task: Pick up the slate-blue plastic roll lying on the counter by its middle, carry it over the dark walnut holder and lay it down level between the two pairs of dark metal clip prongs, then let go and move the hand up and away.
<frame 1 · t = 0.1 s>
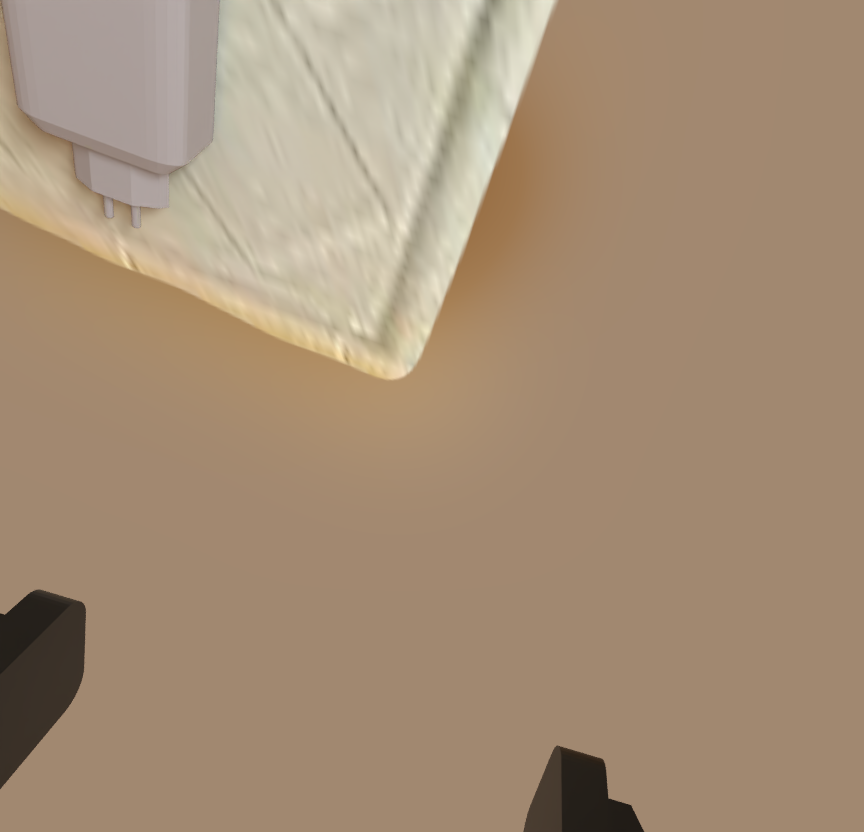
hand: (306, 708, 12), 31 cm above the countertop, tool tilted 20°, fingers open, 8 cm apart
charger: (142, 82, 39), on the countertop
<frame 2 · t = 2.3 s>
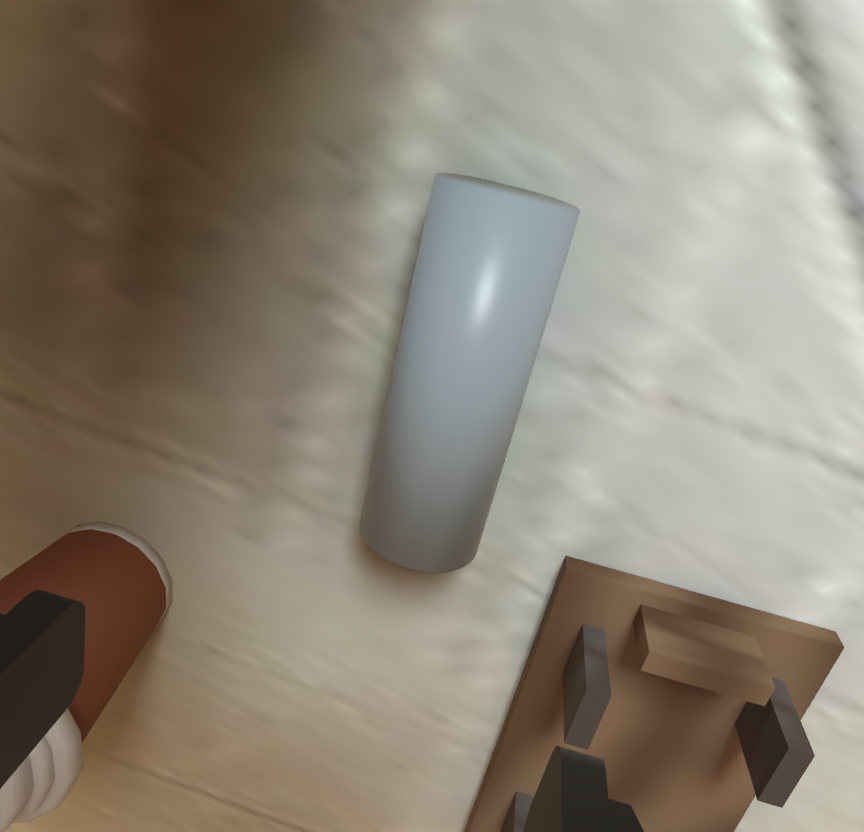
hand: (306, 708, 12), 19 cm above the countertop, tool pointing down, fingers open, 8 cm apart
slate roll: (452, 357, 29), on the countertop, tilted 13°
walnut holder: (627, 745, 35), on the countertop
coffee cup: (115, 575, 36), on the countertop
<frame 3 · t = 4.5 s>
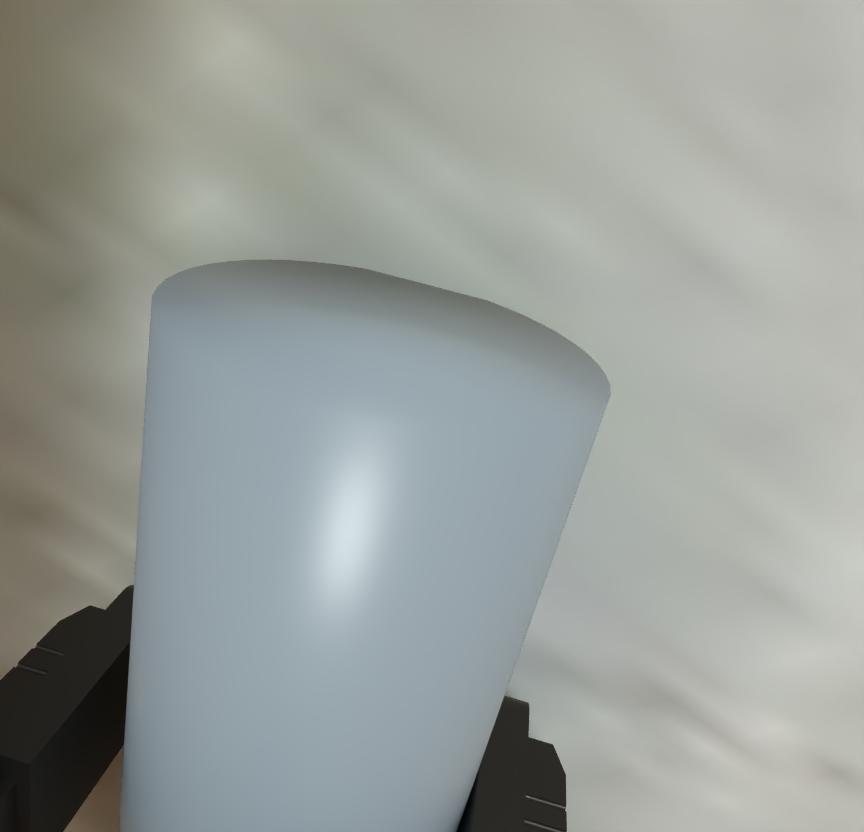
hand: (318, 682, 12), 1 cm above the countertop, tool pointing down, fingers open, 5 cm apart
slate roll: (326, 646, 13), on the countertop, tilted 8°
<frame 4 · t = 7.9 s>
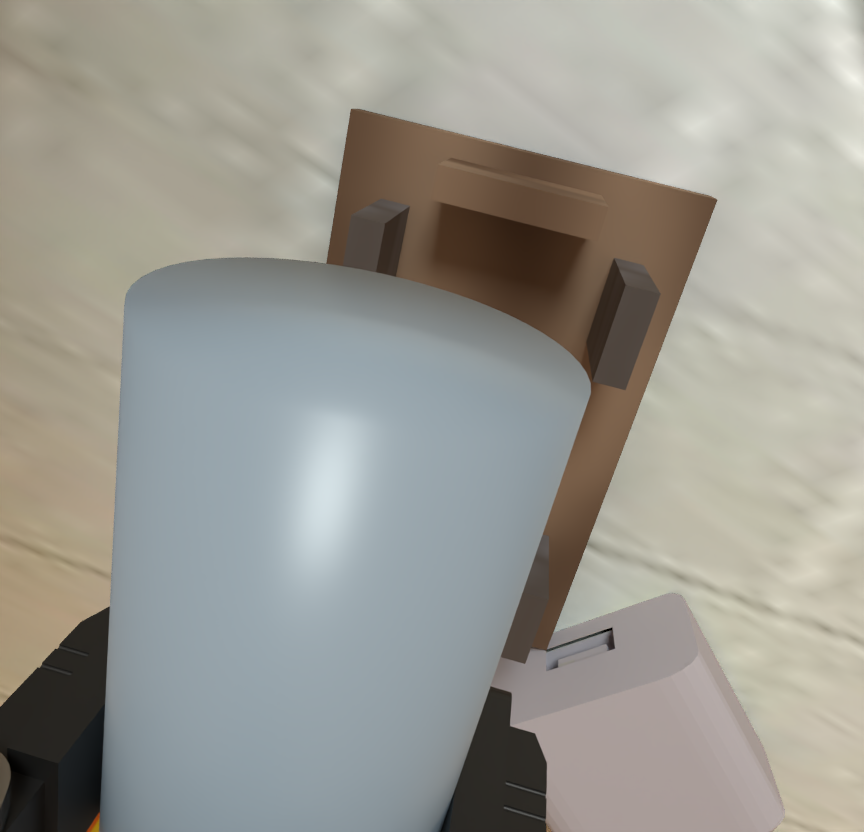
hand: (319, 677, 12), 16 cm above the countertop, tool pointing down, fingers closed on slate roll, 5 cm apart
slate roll: (327, 650, 13), point 16 cm above the countertop, touching gripper
walnut holder: (465, 406, 28), on the countertop
charger: (648, 737, 33), on the countertop, touching walnut holder
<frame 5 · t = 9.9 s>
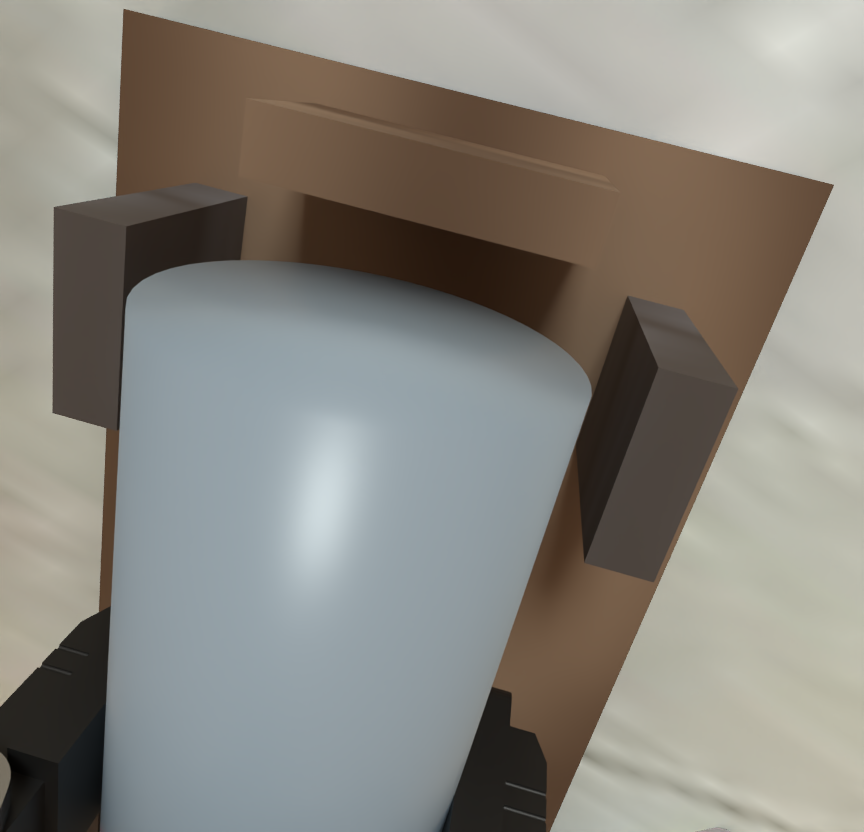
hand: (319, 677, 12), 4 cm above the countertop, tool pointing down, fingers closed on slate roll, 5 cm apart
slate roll: (328, 652, 13), point 4 cm above the countertop, touching gripper
walnut holder: (373, 538, 16), on the countertop
when the fingers open (2 cm above the countertop, at t = 11.2 s): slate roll stays where it is, resting on walnut holder.
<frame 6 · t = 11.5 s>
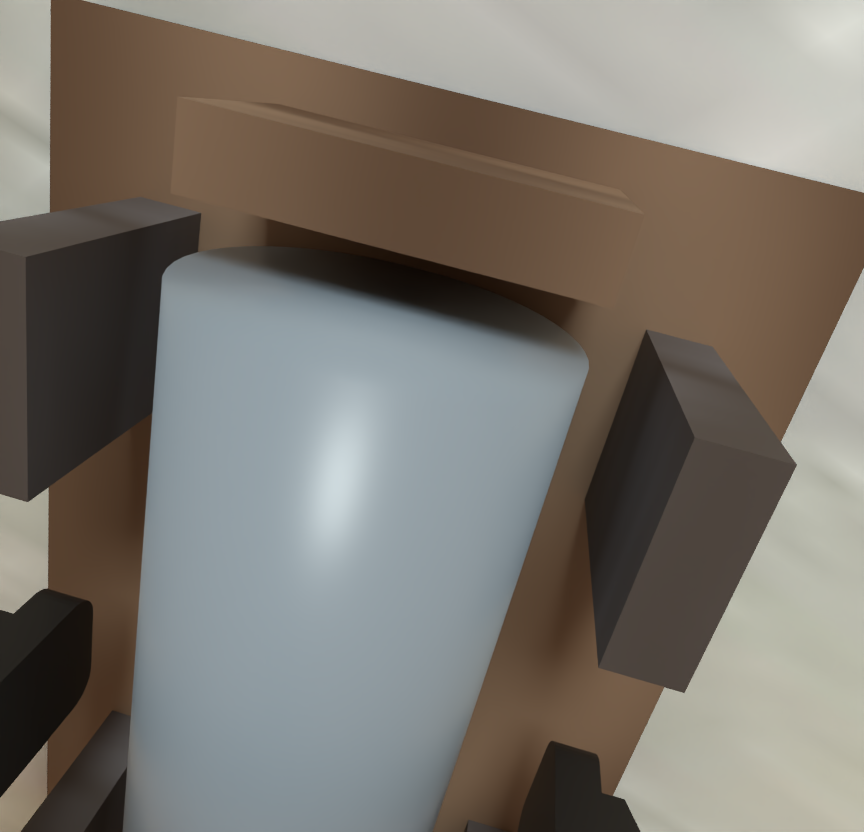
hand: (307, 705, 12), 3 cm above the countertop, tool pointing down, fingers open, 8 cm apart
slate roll: (338, 624, 14), point 1 cm above the countertop, touching walnut holder
walnut holder: (355, 594, 15), on the countertop
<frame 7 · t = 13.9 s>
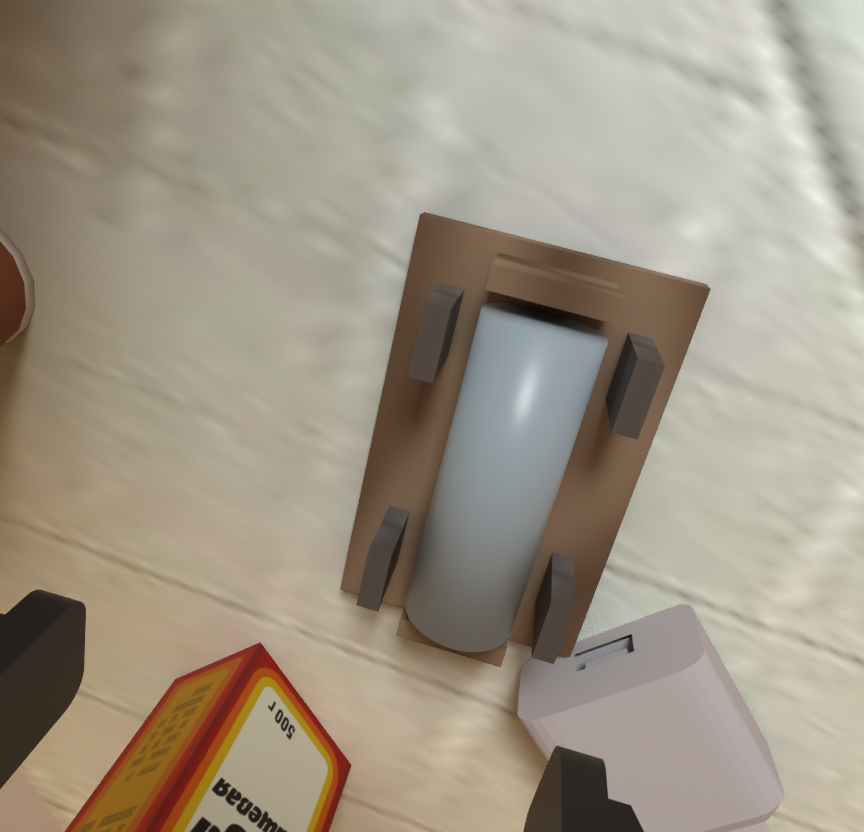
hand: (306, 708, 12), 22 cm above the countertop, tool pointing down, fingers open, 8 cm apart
baking soda box: (264, 719, 42), on the countertop
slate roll: (500, 456, 32), point 1 cm above the countertop, touching walnut holder
walnut holder: (503, 449, 33), on the countertop
charger: (665, 734, 38), on the countertop
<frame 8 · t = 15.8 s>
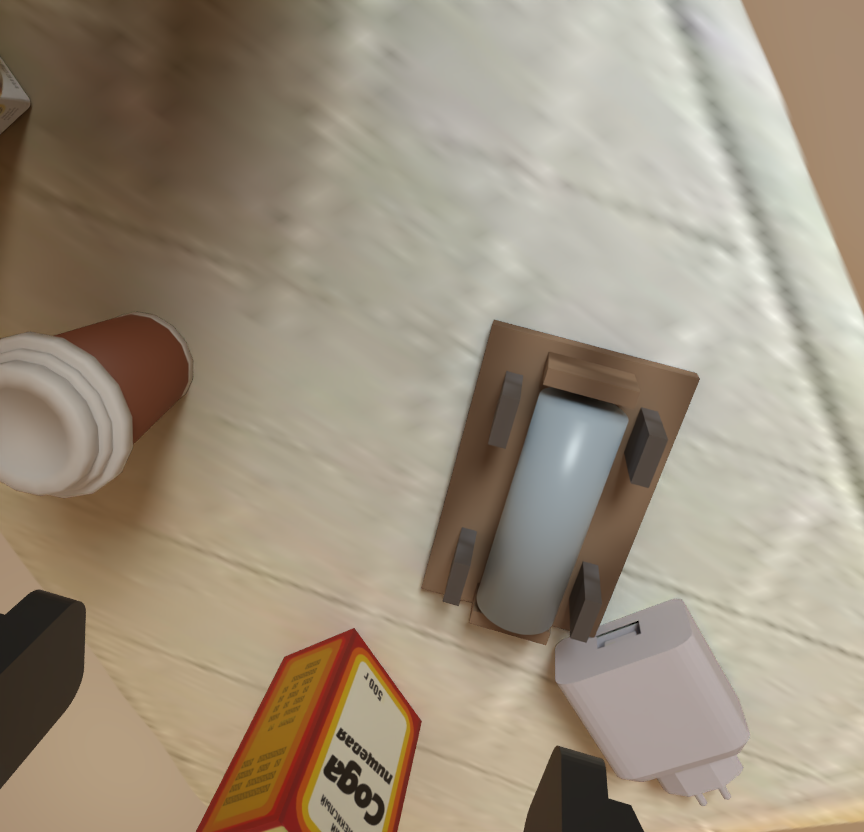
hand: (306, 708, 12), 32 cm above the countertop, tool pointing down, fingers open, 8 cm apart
baking soda box: (353, 687, 54), on the countertop
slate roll: (546, 492, 44), point 1 cm above the countertop, touching walnut holder
walnut holder: (547, 485, 45), on the countertop
charger: (663, 695, 50), on the countertop
coffee cup: (148, 359, 46), on the countertop
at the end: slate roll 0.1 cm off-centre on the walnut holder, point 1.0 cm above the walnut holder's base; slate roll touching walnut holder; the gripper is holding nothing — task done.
